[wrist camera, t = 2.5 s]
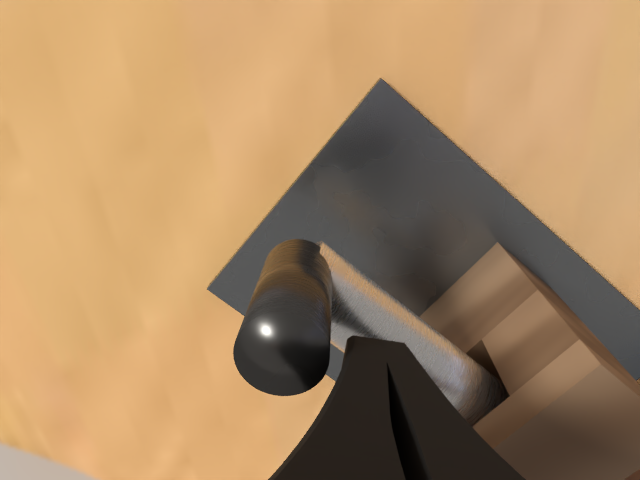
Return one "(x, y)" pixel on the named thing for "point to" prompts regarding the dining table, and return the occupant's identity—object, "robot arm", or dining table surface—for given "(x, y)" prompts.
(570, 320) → the bearing block
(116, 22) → the dining table surface
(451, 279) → the base plate
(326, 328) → the crank handle
